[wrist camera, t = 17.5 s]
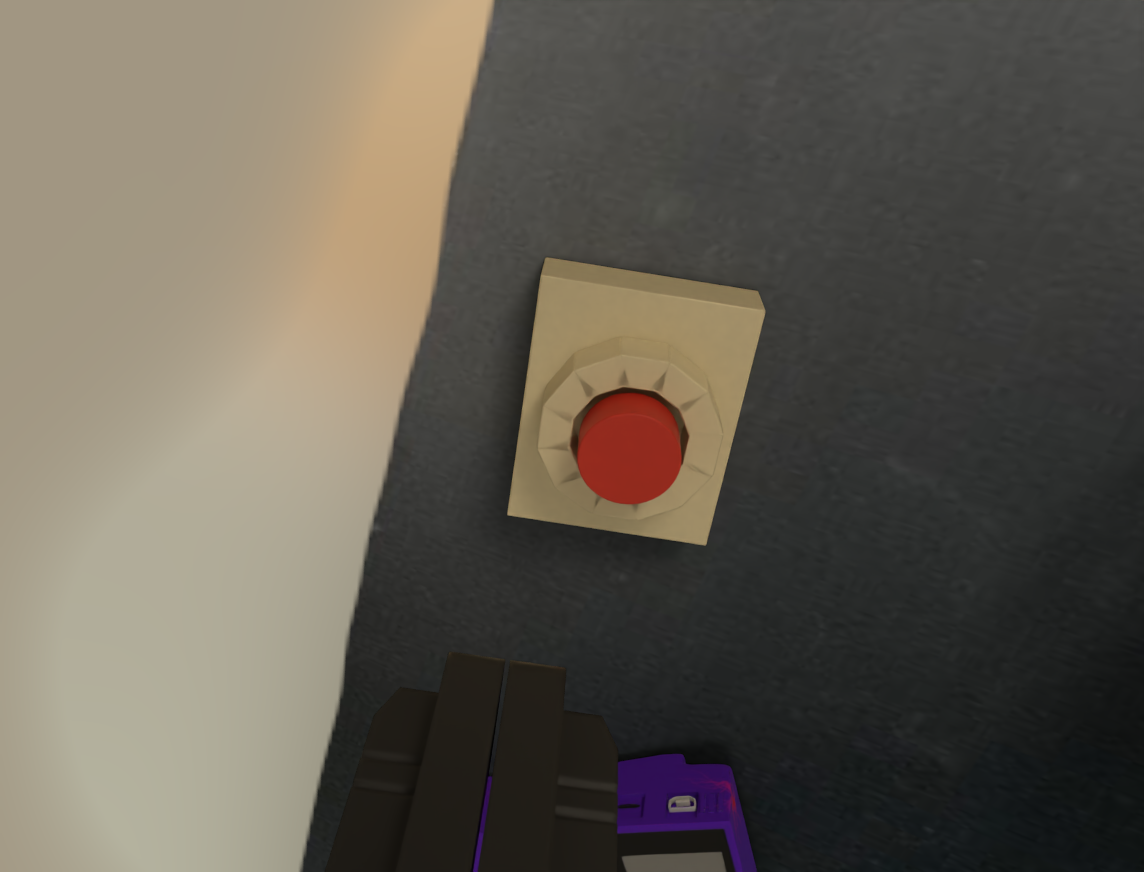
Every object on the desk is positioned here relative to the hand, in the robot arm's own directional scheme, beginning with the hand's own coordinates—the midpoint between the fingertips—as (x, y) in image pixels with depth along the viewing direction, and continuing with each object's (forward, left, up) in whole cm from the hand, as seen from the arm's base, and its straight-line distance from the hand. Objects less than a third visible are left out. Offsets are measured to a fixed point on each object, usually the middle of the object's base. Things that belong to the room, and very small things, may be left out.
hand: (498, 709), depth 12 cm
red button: (+7, +3, -22) cm, 23 cm away
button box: (+7, +3, -25) cm, 27 cm away
